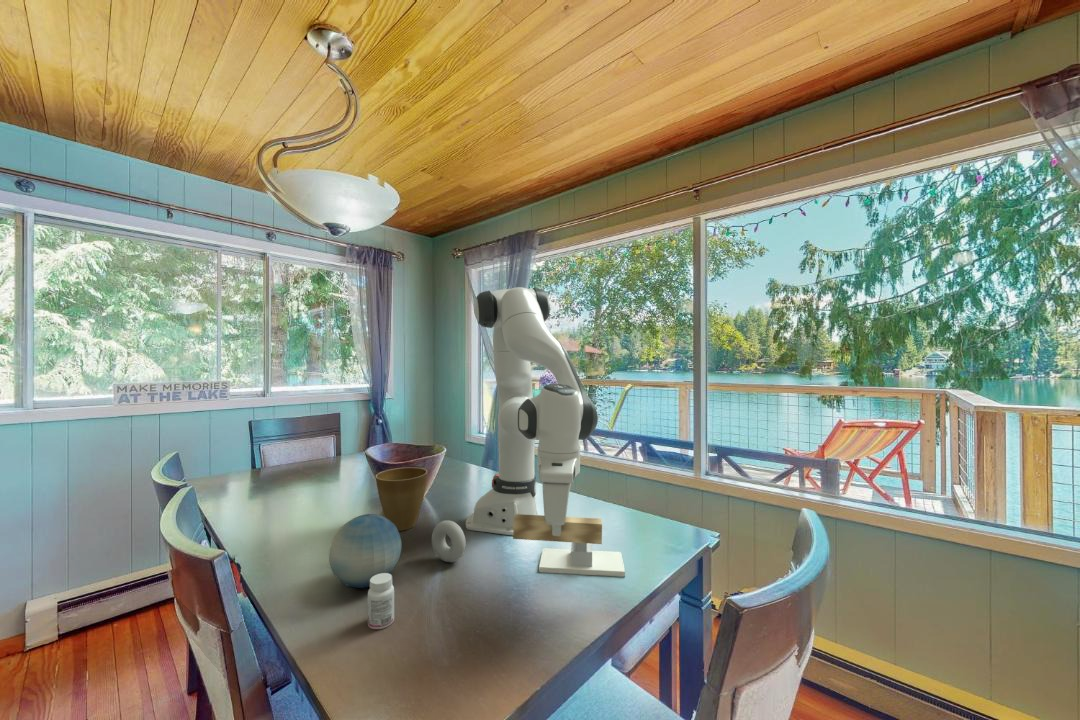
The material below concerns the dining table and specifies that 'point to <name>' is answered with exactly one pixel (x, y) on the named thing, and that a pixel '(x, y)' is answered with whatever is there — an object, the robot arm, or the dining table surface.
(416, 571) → the dining table surface
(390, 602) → the pill bottle
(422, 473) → the plant pot
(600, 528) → the pine bar
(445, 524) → the donut
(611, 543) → the dining table surface
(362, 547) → the decorative ball
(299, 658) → the dining table surface
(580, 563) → the fulcrum stand
